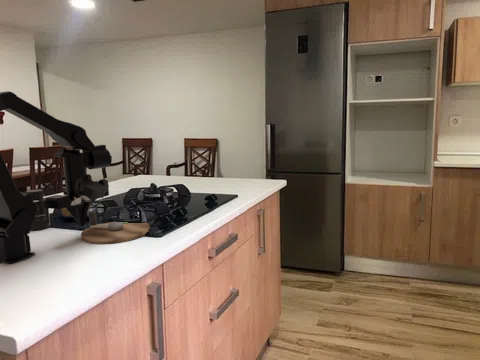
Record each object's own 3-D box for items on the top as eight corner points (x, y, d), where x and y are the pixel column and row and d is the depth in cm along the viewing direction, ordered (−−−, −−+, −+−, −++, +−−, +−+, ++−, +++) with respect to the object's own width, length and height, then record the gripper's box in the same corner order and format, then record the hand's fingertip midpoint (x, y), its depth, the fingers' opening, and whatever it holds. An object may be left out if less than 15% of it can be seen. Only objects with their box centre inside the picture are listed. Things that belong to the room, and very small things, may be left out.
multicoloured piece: (125, 226, 112) (124, 210, 111) (118, 230, 108) (117, 214, 107) (94, 225, 114) (93, 210, 113) (86, 229, 110) (85, 213, 109)
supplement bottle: (40, 231, 116) (35, 192, 114) (21, 230, 117) (16, 192, 115) (55, 225, 122) (51, 188, 120) (37, 224, 124) (32, 188, 122)
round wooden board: (121, 246, 98) (120, 241, 98) (66, 240, 105) (65, 235, 105) (162, 226, 116) (162, 222, 115) (112, 222, 123) (112, 218, 123)
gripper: (71, 177, 94) (77, 238, 96) (121, 167, 111) (125, 219, 113) (38, 176, 98) (45, 234, 100) (91, 167, 115) (96, 217, 117)
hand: (81, 226), depth 108 cm, fingers closed
